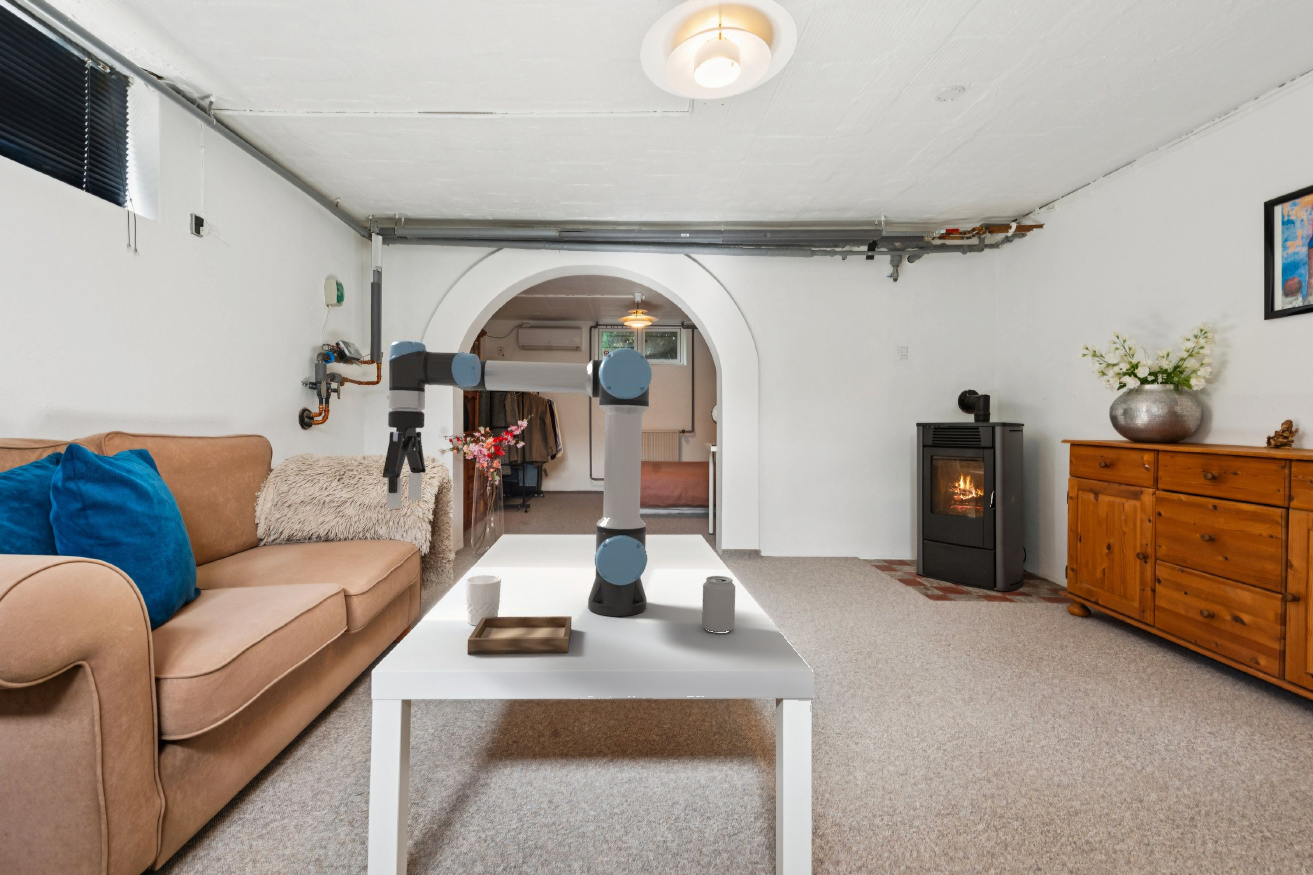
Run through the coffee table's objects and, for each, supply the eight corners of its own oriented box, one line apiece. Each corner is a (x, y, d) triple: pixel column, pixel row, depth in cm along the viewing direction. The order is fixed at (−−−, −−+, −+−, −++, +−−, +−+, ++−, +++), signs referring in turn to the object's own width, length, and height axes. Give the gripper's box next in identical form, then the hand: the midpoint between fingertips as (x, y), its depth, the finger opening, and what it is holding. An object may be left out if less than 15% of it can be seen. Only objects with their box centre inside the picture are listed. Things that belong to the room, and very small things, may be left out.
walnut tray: (571, 629, 131) (571, 616, 131) (567, 653, 117) (568, 638, 117) (481, 630, 129) (482, 616, 129) (467, 654, 115) (467, 639, 115)
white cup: (490, 628, 130) (491, 584, 130) (458, 625, 132) (459, 582, 131) (506, 617, 138) (506, 576, 138) (476, 614, 139) (477, 574, 139)
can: (738, 627, 135) (739, 576, 135) (728, 637, 128) (729, 584, 128) (708, 622, 138) (709, 572, 138) (697, 631, 131) (698, 579, 131)
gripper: (408, 411, 141) (406, 497, 141) (366, 407, 116) (364, 511, 117) (439, 412, 142) (437, 497, 142) (404, 408, 117) (403, 511, 117)
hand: (404, 504), depth 129 cm, fingers open, 13 cm apart
